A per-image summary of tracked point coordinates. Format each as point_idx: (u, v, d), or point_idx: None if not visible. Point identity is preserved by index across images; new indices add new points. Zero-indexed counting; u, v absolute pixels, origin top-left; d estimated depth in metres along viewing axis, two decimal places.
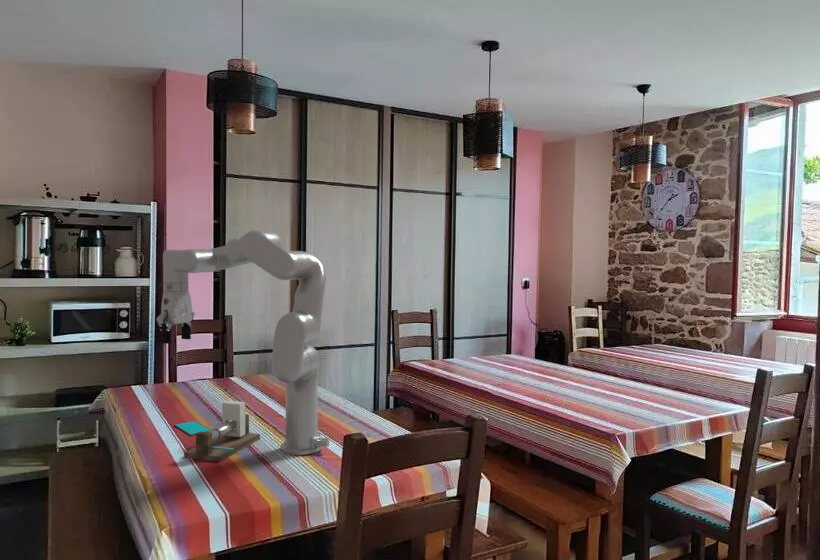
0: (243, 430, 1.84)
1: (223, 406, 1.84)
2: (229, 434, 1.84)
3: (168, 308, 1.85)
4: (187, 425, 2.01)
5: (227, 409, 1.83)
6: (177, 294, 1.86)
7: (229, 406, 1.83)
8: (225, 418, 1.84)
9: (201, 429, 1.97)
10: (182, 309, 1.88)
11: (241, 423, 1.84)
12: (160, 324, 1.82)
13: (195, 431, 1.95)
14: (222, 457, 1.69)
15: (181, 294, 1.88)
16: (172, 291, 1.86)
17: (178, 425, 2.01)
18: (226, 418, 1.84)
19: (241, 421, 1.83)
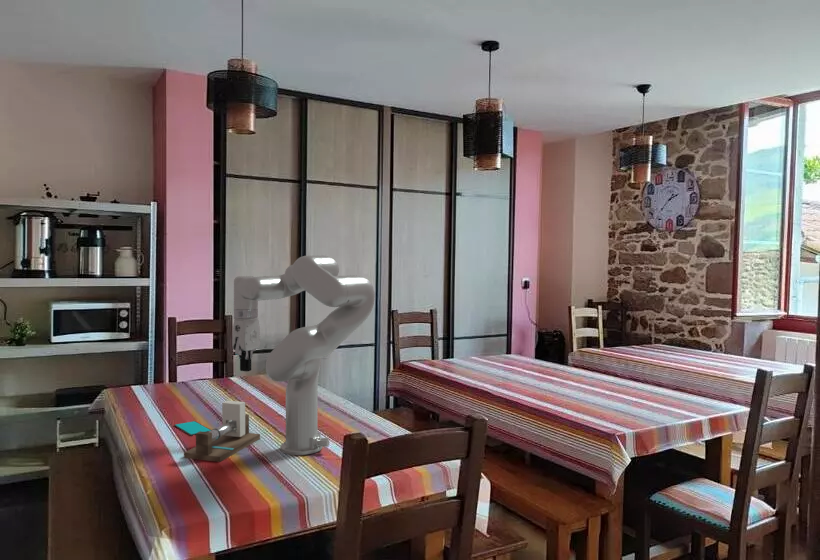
0: (243, 430, 1.84)
1: (223, 406, 1.84)
2: (229, 434, 1.84)
3: (239, 335, 1.86)
4: (187, 425, 2.01)
5: (227, 409, 1.83)
6: (248, 321, 1.87)
7: (229, 406, 1.83)
8: (225, 418, 1.84)
9: (201, 429, 1.97)
10: (252, 335, 1.90)
11: (241, 423, 1.84)
12: None
13: (195, 431, 1.95)
14: (222, 457, 1.69)
15: (252, 320, 1.89)
16: (243, 318, 1.87)
17: (178, 425, 2.01)
18: (226, 418, 1.84)
19: (241, 421, 1.83)
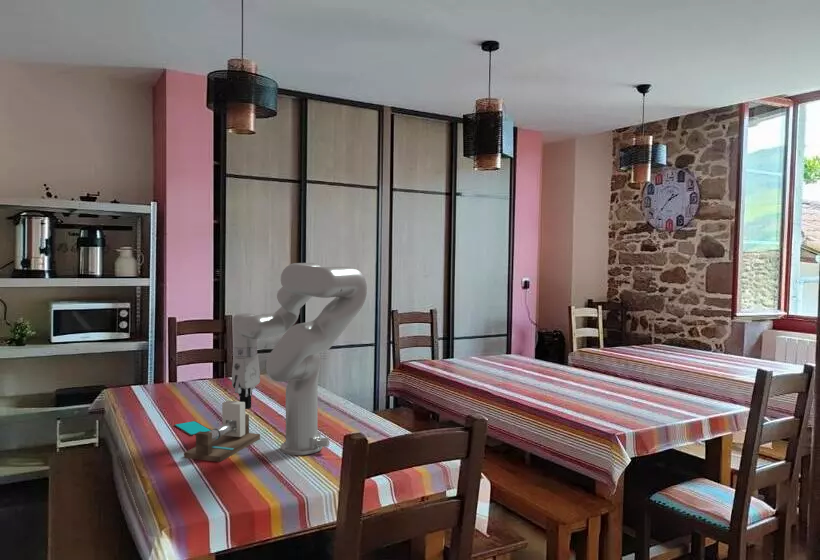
0: (243, 430, 1.84)
1: (223, 406, 1.84)
2: (229, 434, 1.84)
3: (239, 373, 1.86)
4: (187, 425, 2.01)
5: (227, 409, 1.83)
6: (247, 359, 1.87)
7: (229, 406, 1.83)
8: (225, 418, 1.84)
9: (201, 429, 1.97)
10: (252, 373, 1.89)
11: (241, 423, 1.84)
12: None
13: (195, 431, 1.95)
14: (222, 457, 1.69)
15: (251, 358, 1.89)
16: (243, 356, 1.87)
17: (178, 425, 2.01)
18: (226, 418, 1.84)
19: (241, 421, 1.83)
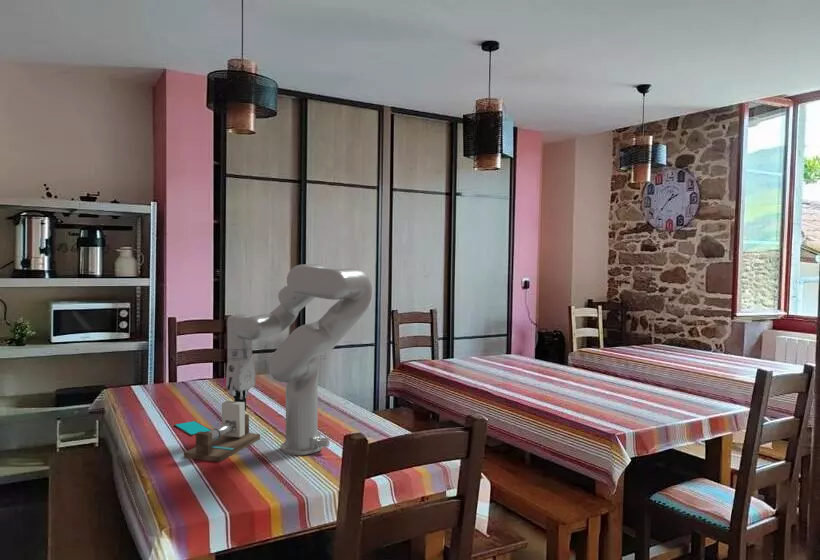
0: (243, 430, 1.84)
1: (223, 406, 1.84)
2: (229, 434, 1.83)
3: (233, 375, 1.83)
4: (187, 425, 2.01)
5: (227, 409, 1.83)
6: (242, 361, 1.84)
7: (229, 406, 1.83)
8: (224, 419, 1.84)
9: (201, 429, 1.97)
10: (246, 375, 1.86)
11: (241, 423, 1.83)
12: None
13: (195, 431, 1.95)
14: (222, 457, 1.69)
15: (246, 360, 1.86)
16: (237, 358, 1.84)
17: (178, 425, 2.01)
18: (226, 418, 1.83)
19: (241, 421, 1.83)
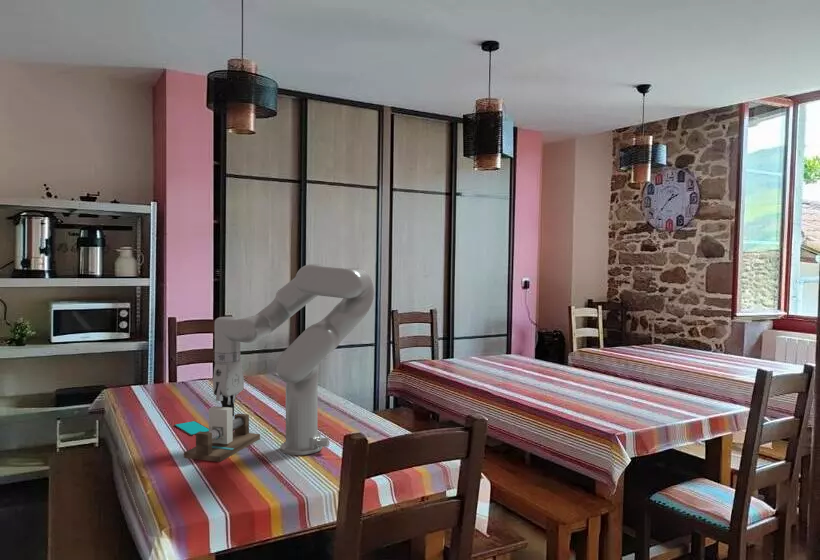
0: (230, 437, 1.78)
1: (209, 412, 1.77)
2: (216, 441, 1.77)
3: (220, 380, 1.76)
4: (187, 425, 2.01)
5: (214, 415, 1.77)
6: (229, 365, 1.78)
7: (216, 412, 1.76)
8: (211, 425, 1.77)
9: (201, 429, 1.97)
10: (234, 380, 1.80)
11: (229, 429, 1.77)
12: None
13: (195, 431, 1.95)
14: (222, 457, 1.69)
15: (234, 364, 1.79)
16: (224, 362, 1.77)
17: (178, 425, 2.01)
18: (213, 424, 1.77)
19: (228, 427, 1.76)
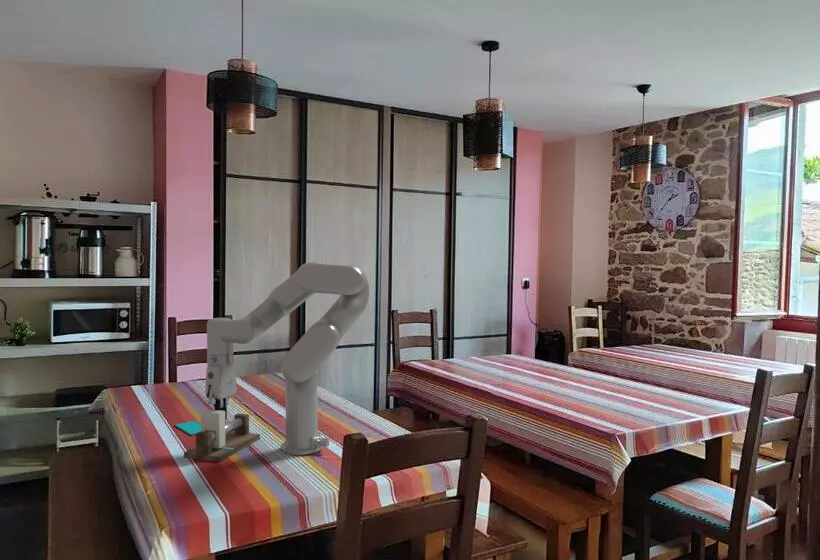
0: (223, 441, 1.74)
1: (202, 415, 1.73)
2: None
3: (213, 383, 1.72)
4: (187, 425, 2.01)
5: (206, 418, 1.73)
6: (222, 367, 1.74)
7: (208, 415, 1.73)
8: (204, 428, 1.73)
9: None
10: (227, 382, 1.76)
11: (221, 433, 1.73)
12: None
13: (195, 431, 1.95)
14: (222, 457, 1.69)
15: (226, 366, 1.76)
16: (217, 364, 1.73)
17: (178, 425, 2.01)
18: (205, 428, 1.73)
19: (221, 431, 1.73)
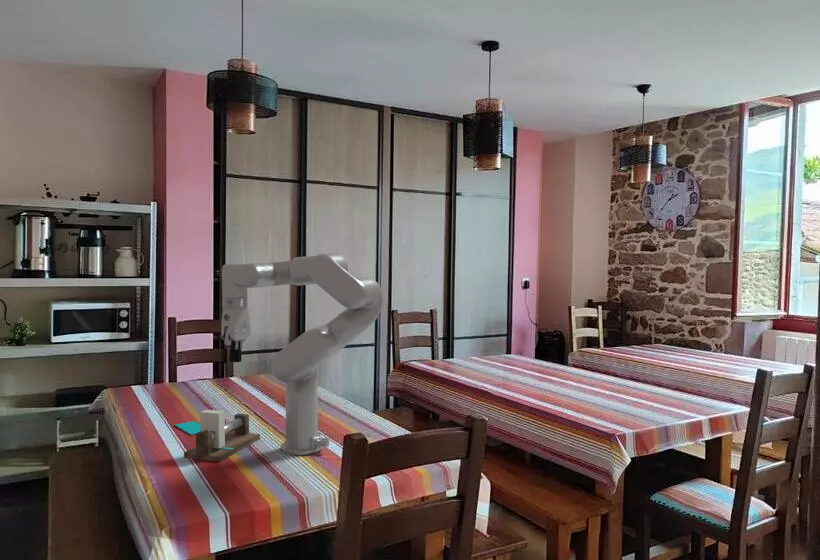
0: (222, 441, 1.74)
1: (201, 415, 1.73)
2: None
3: (229, 324, 1.79)
4: (187, 425, 2.01)
5: (206, 419, 1.73)
6: (237, 310, 1.81)
7: (207, 416, 1.72)
8: (203, 429, 1.73)
9: None
10: (242, 325, 1.83)
11: (221, 434, 1.73)
12: None
13: (195, 431, 1.95)
14: (222, 457, 1.69)
15: (241, 309, 1.83)
16: (232, 307, 1.80)
17: (178, 425, 2.01)
18: (204, 428, 1.73)
19: (220, 431, 1.72)
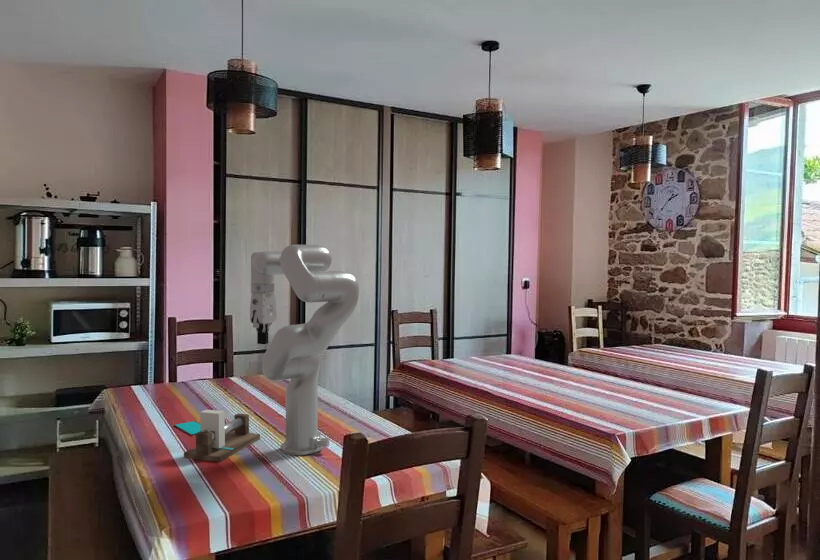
0: (222, 441, 1.74)
1: (201, 415, 1.73)
2: None
3: (257, 308, 1.92)
4: (187, 425, 2.01)
5: (206, 419, 1.73)
6: (265, 295, 1.93)
7: (207, 416, 1.72)
8: (203, 429, 1.73)
9: None
10: (269, 309, 1.95)
11: (221, 434, 1.73)
12: None
13: (195, 431, 1.95)
14: (222, 457, 1.69)
15: (268, 294, 1.95)
16: (260, 292, 1.93)
17: (178, 425, 2.01)
18: (204, 428, 1.73)
19: (220, 431, 1.72)
